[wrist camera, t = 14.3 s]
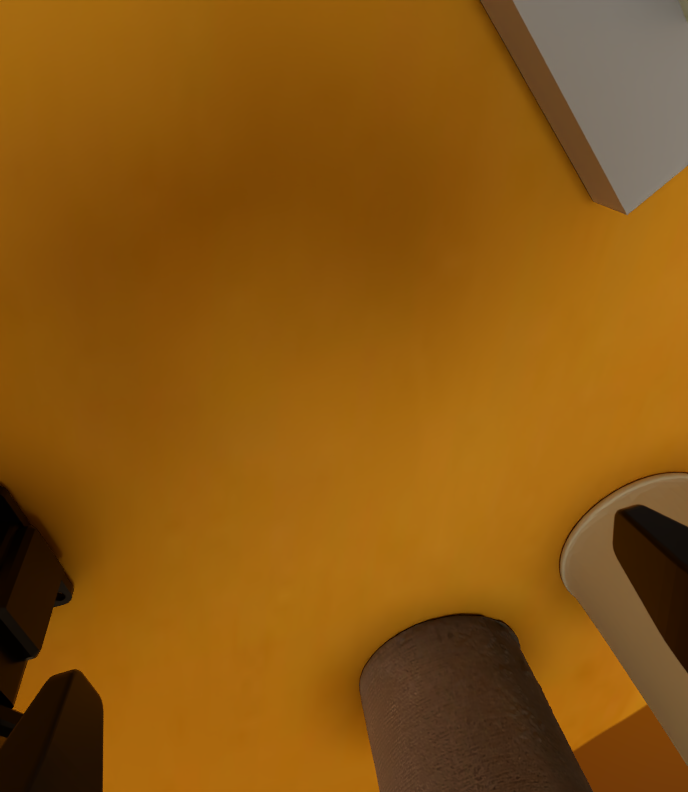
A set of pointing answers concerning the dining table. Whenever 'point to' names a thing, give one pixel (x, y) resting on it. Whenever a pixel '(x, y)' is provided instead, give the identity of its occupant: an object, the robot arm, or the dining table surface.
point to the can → (631, 599)
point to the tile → (606, 87)
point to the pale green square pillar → (684, 8)
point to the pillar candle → (462, 714)
